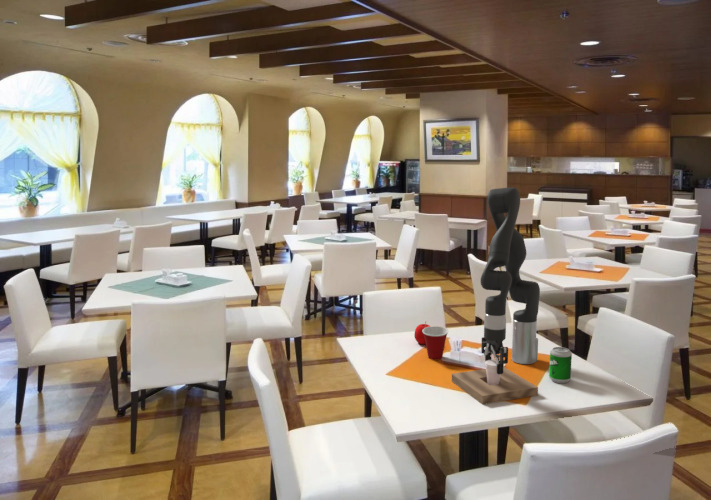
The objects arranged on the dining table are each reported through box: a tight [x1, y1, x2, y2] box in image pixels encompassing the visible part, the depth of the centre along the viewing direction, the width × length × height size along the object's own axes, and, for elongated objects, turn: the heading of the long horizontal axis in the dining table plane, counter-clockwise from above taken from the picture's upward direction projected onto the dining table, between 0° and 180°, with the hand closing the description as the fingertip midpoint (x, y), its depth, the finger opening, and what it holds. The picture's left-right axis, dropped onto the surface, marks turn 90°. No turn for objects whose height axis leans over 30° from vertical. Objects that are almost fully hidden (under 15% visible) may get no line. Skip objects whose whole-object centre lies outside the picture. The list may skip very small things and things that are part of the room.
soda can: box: [548, 346, 573, 384], centre depth 221 cm, size 8×8×12 cm
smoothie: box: [484, 358, 501, 385], centre depth 214 cm, size 6×6×14 cm
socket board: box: [451, 366, 539, 405], centre depth 215 cm, size 22×22×3 cm
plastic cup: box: [422, 325, 449, 360], centre depth 247 cm, size 11×11×12 cm
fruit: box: [414, 321, 431, 346], centre depth 266 cm, size 9×9×10 cm
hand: (493, 369), depth 214 cm, fingers open, 7 cm apart
